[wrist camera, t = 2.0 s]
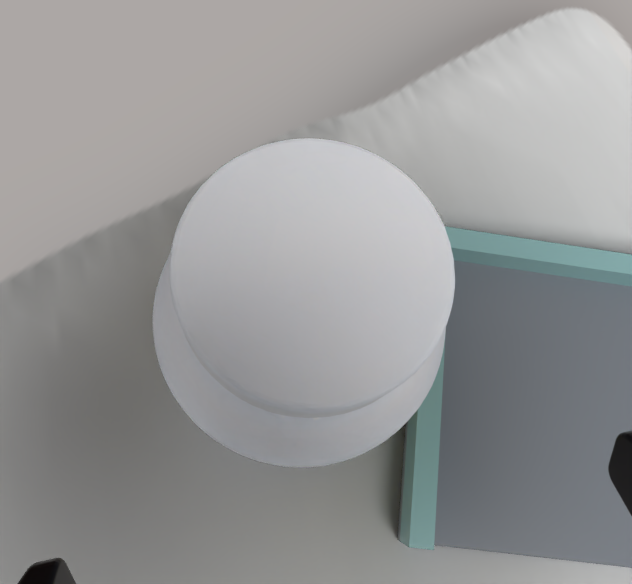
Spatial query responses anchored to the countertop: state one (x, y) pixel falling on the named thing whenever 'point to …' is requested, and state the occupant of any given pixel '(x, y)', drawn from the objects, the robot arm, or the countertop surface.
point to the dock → (525, 405)
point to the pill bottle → (304, 303)
